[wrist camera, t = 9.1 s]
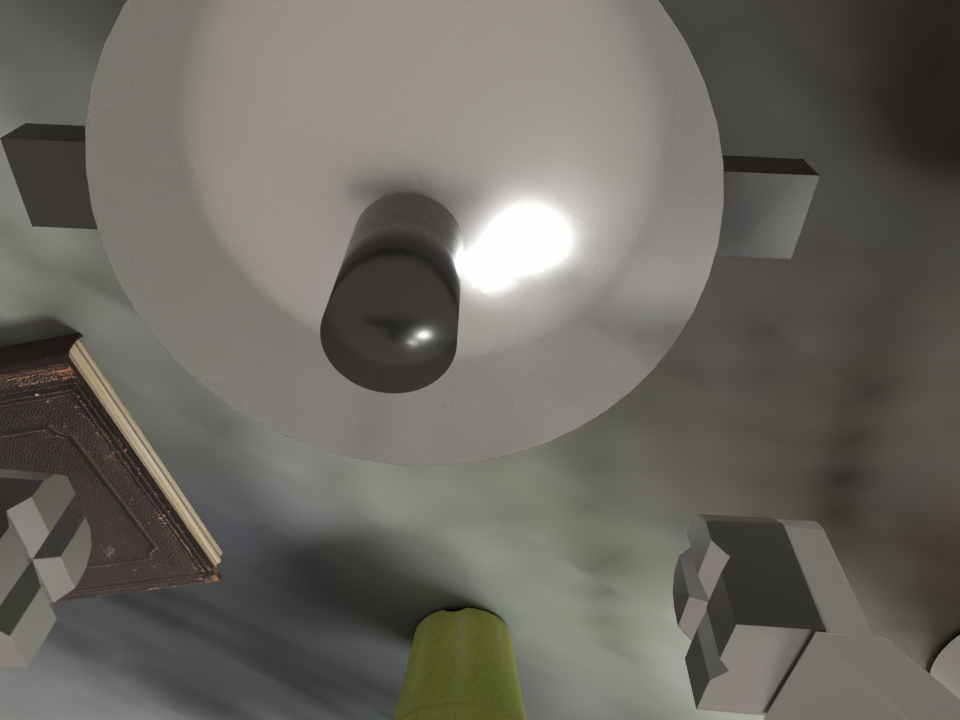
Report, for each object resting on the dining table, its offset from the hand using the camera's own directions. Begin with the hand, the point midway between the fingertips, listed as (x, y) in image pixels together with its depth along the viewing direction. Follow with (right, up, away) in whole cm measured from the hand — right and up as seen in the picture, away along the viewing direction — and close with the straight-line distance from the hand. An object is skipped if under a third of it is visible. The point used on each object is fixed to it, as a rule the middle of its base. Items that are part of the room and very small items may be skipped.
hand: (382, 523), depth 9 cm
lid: (0, +5, +8) cm, 10 cm away
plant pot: (0, -15, +36) cm, 39 cm away
